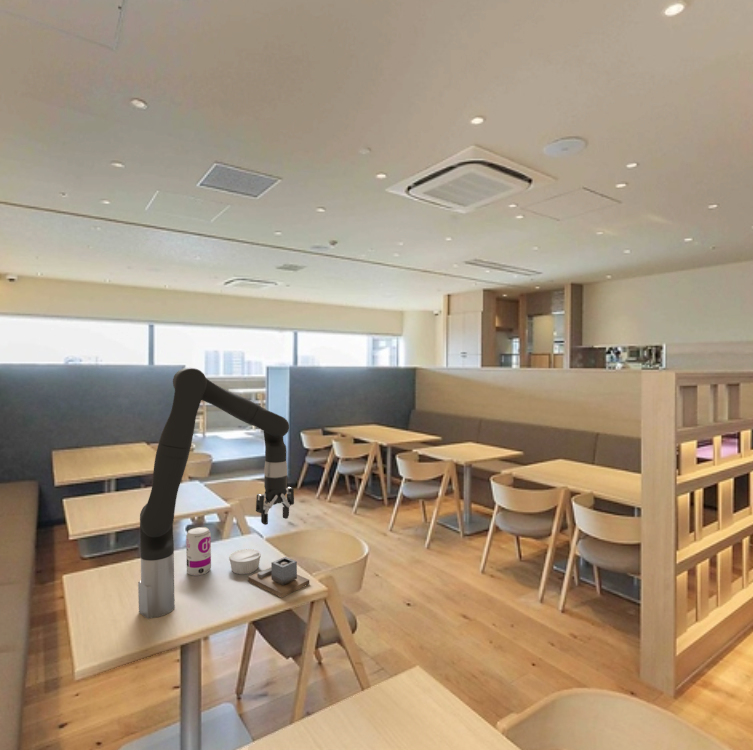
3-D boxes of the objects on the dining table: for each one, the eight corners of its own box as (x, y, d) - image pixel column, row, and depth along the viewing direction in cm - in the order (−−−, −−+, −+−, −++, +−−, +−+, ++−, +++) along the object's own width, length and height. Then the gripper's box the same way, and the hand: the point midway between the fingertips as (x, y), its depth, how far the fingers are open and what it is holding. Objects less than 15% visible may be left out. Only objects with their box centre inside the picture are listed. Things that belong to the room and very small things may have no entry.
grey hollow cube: (282, 585, 158) (282, 567, 158) (271, 579, 162) (271, 562, 161) (296, 578, 162) (296, 561, 162) (285, 573, 166) (285, 556, 166)
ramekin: (253, 577, 168) (253, 562, 168) (223, 574, 170) (223, 560, 170) (265, 563, 179) (265, 549, 179) (237, 561, 181) (237, 547, 181)
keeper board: (281, 597, 154) (281, 574, 153) (248, 580, 165) (248, 559, 165) (309, 584, 163) (309, 562, 163) (276, 569, 174) (275, 548, 174)
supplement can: (215, 569, 174) (215, 529, 173) (196, 578, 167) (195, 536, 166) (201, 564, 178) (200, 524, 178) (181, 572, 171) (181, 531, 171)
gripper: (265, 479, 154) (264, 529, 155) (299, 472, 165) (298, 518, 166) (251, 475, 159) (251, 523, 160) (285, 468, 170) (285, 513, 171)
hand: (275, 521), depth 163 cm, fingers open, 8 cm apart
